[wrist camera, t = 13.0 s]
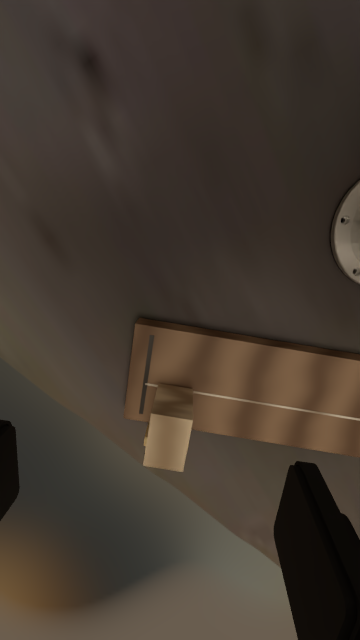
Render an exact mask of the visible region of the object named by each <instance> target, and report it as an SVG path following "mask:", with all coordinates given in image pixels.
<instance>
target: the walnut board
mask: <svg viewBox="0 0 360 640" xmlns="http://www.w3.org/2000/svg"><path fill="white" fill-rule="evenodd" d="M158 383H160V384H166V385H172V386H178V387H184V388H190V389H193V423H192V428H191V429H192V430H198V431H204V432H210V433H216V434H222V435H228V436H234V437H240V438H246V439H252V440H258V441H264V442H270V443H276V444H282V445H288V446H294V447H300V448H306V449H312V450H318V451H324V452H330V453H336V454H342V455H348V456H354V457H360V354H354V353H348V352H342V351H336V350H330V349H324V348H318V347H312V346H306V345H300V344H294V343H288V342H282V341H276V340H270V339H264V338H258V337H252V336H246V335H240V334H234V333H228V332H222V331H216V330H210V329H204V328H198V327H192V326H186V325H180V324H174V323H168V322H162V321H156V320H150V319H144V318H139V319H138V320H137V322H136V323H135V330H134V338H133V346H132V354H131V362H130V370H129V378H128V386H127V394H126V402H125V410H124V418H126V419H132V420H138V421H144V422H150V418H151V412H152V408H153V404H154V400H155V395H156V391H157V387H158Z"/></svg>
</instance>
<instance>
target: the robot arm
mask: <svg viewBox="0 0 360 640" xmlns="http://www.w3.org/2000/svg"><path fill="white" fill-rule="evenodd" d="M341 218H342V219H343V222H342V223H341ZM331 248H332V252H333V256H334V258H335V261H336V263H337V265H338V267H339V268H340V269H341V271H342V272H343V273H344V274H345V275H346V276H347V277H348V278H349V279H351V280H352V281H353V282H355V283H357V284H359V285H360V180H359V181H358V182H357V183H356V184H355V185H354V186H353V187H352V188H351V189H350V190H349V191H348V193H347V194H346V195H345V196H344V198H343V199H342V201H341V203H340V205H339V207H338V208H337V210H336V213H335V216H334V219H333V222H332V229H331ZM353 270H354V272H353ZM18 493H19V475H18V460H17V445H16V431H15V427H13V426H12V424H11V422H10V421H5V420H0V521H1V519H2V518H3V516H4V515H5V514H6V512H7V511H8V509H9V508H10V507H11V505H12V503H13V502H14V501H15V499H16V498H17V495H18ZM274 539H275V544H276V548H277V552H278V556H279V561H280V565H281V569H282V573H283V578H284V582H285V586H286V590H287V594H288V598H289V603H290V607H291V611H292V615H293V620H294V624H295V628H296V632H297V637H298V640H360V540H359V538H358V536H357V534H356V532H355V530H354V528H353V526H352V524H351V522H350V521H349V519H348V517H347V516H346V515H344V514H342V513H340V511H339V509H338V507H337V505H336V503H335V501H334V499H333V497H332V495H331V493H330V491H329V489H328V487H327V485H326V483H325V481H324V479H323V477H322V475H321V473H320V471H319V469H318V467H317V465H316V464H314V463H307V462H300V461H296V463H295V465H290V467H289V470H288V473H287V477H286V481H285V485H284V489H283V493H282V497H281V501H280V505H279V509H278V512H277V516H276V520H275V524H274Z"/></svg>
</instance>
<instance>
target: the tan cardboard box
mask: <svg viewBox="0 0 360 640" xmlns="http://www.w3.org/2000/svg"><path fill="white" fill-rule="evenodd" d="M192 423H193V389H190V388H184V387H178V386H172V385H166V384H160V383H158V387H157V391H156V395H155V400H154V404H153V408H152V412H151V418H150V422H148V426H147V430H146V434H145V440H144V446H146V450H145V457H144V463H143V466H149V467H155V468H162V469H168V470H174V471H180V472H183V468H184V463H185V458H186V453H187V450H188V445H189V438H190V433H191V428H192Z"/></svg>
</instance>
